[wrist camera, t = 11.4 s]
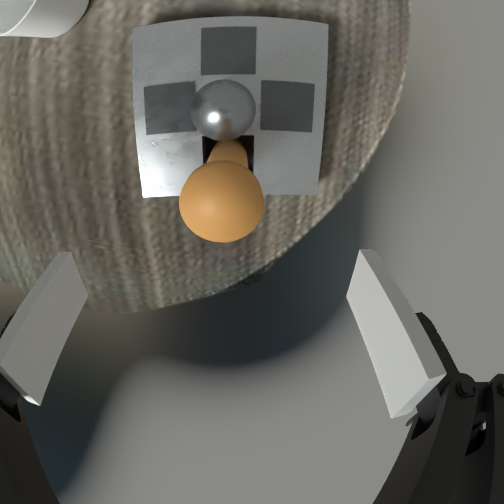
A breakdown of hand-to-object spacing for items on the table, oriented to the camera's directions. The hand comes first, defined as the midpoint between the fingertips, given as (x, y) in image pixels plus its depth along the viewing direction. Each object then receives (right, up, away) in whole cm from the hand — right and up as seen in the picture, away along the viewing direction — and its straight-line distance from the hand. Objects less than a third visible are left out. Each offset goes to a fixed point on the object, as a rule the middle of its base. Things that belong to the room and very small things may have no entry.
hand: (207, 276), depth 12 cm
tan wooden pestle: (-1, +12, +19) cm, 23 cm away
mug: (-21, +33, +4) cm, 40 cm away
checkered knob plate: (-1, +17, +16) cm, 23 cm away
